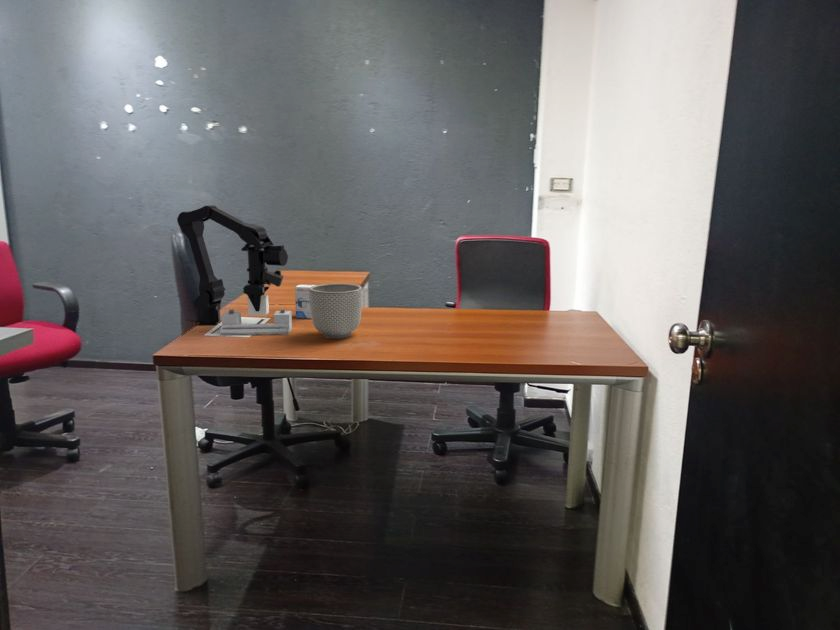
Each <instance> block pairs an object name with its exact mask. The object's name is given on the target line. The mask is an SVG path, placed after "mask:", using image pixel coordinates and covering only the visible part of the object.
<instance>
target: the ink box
mask: <svg viewBox="0 0 840 630" xmlns="http://www.w3.org/2000/svg"><path fill="white" fill-rule="evenodd" d="M315 285H316V284H298V285H296V286H295V287H294V290H295V291H294V293H295V294H294V295H295V299H294V300H295V303H294V304H295V318H296V319H312V316H311V310H310V301H309V288H310V287H312V286H315Z"/></svg>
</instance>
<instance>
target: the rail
mask: <svg viewBox="0 0 840 630" xmlns="http://www.w3.org/2000/svg"><path fill="white" fill-rule="evenodd" d="M290 333H291V331H290V327H289V323H287V324H274V323H241V324H222V323H221V328H220V329H219V334H220V336H257V335H258V336H262V335H263V336H268V335H269V336H271V335H275V336H276V335H279V336H280V335H282V336H283V335H290Z"/></svg>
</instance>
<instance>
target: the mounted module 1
mask: <svg viewBox="0 0 840 630" xmlns="http://www.w3.org/2000/svg"><path fill="white" fill-rule="evenodd" d="M241 312H242V311H237V310H235V309H233V308H232V309H229V310H227V311H224V312H223V314H220V317H221V325H222V324H242V313H241Z"/></svg>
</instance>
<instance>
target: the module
mask: <svg viewBox="0 0 840 630" xmlns="http://www.w3.org/2000/svg"><path fill="white" fill-rule="evenodd" d="M269 302H270V301H269V294H265V295H262V296H261V302H260V310H259V311H256V310H255V308H254V307H253V305H252V303H251V301H250V299H249V297H248V296H247V310H248V313H247V314H248V316H267V315H268V314H269V313H270V307H269Z"/></svg>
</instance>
